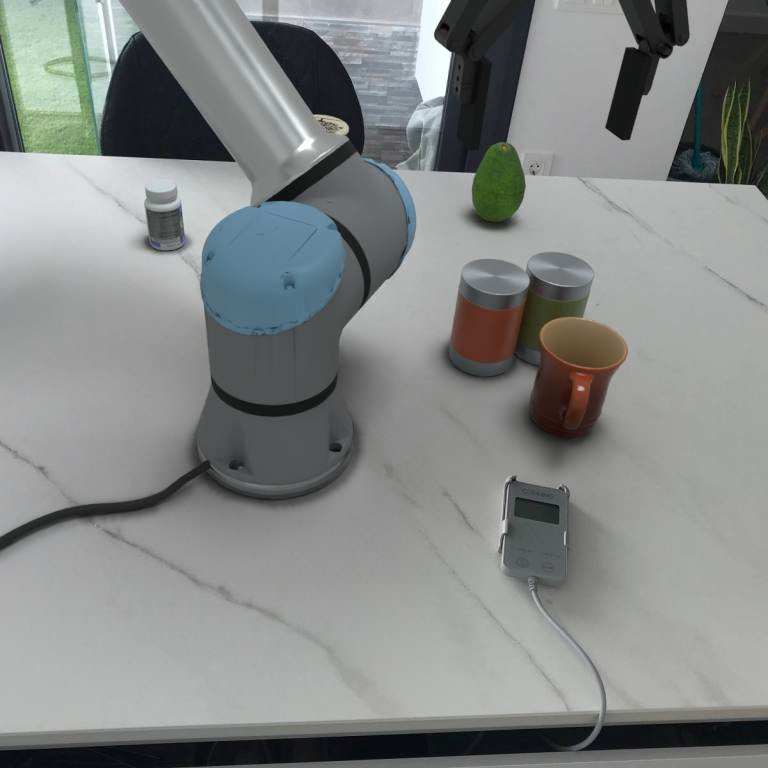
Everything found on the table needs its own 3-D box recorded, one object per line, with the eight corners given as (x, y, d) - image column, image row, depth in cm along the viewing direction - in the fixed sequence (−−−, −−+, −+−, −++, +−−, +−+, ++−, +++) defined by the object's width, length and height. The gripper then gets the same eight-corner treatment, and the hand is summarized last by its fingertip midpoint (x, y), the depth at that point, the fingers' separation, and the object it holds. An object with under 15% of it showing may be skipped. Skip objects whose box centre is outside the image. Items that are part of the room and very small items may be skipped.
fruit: (456, 218, 117) (467, 141, 110) (486, 202, 122) (499, 128, 115) (499, 237, 114) (514, 159, 106) (528, 220, 118) (544, 145, 111)
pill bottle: (191, 246, 105) (185, 189, 100) (157, 254, 103) (150, 196, 98) (177, 231, 108) (171, 174, 103) (144, 238, 106) (136, 181, 101)
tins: (463, 381, 87) (477, 298, 80) (438, 342, 92) (450, 262, 85) (583, 362, 91) (607, 282, 84) (554, 326, 97) (574, 248, 90)
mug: (522, 386, 87) (541, 310, 80) (601, 400, 86) (626, 324, 79) (515, 459, 78) (535, 380, 71) (603, 476, 77) (631, 397, 70)
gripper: (453, -196, 43) (416, 168, 56) (810, -170, 50) (701, 147, 63) (408, -206, 48) (383, 128, 62) (735, -181, 55) (649, 114, 69)
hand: (544, 139), depth 63 cm, fingers open, 13 cm apart
